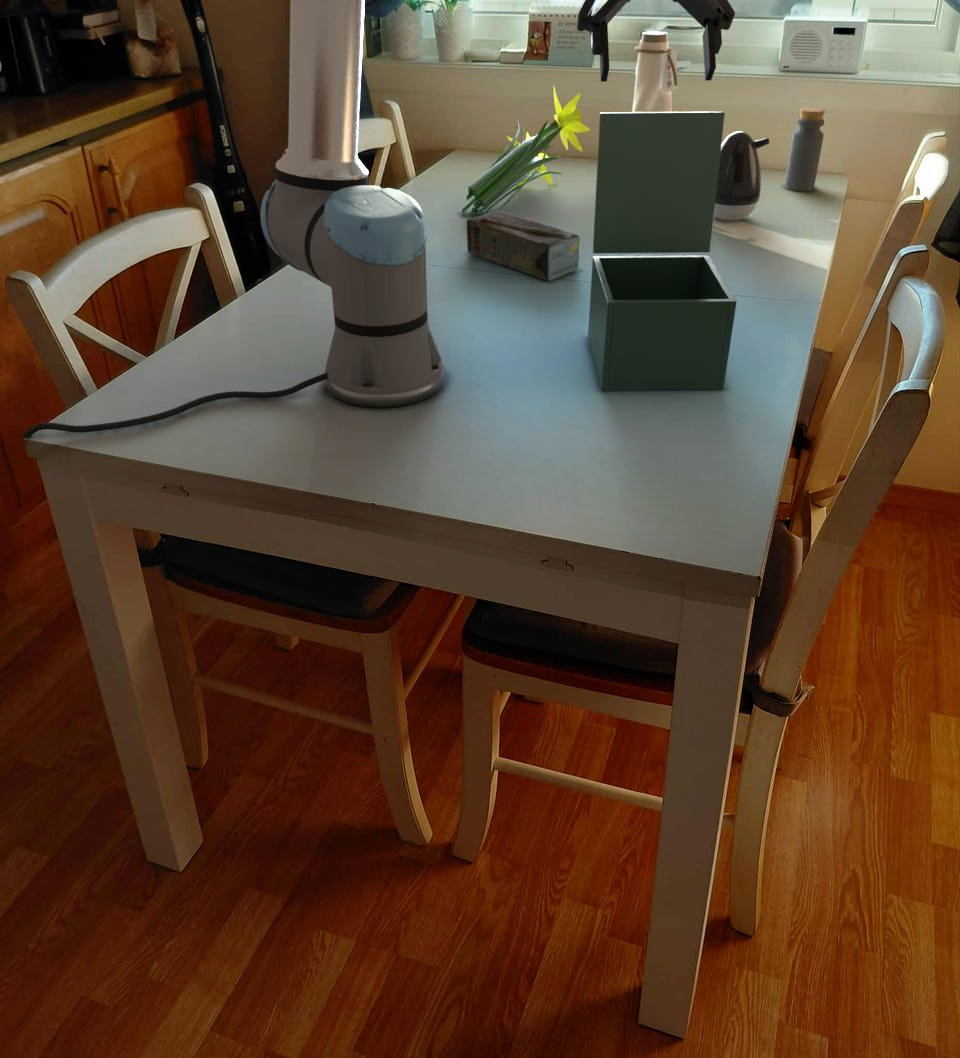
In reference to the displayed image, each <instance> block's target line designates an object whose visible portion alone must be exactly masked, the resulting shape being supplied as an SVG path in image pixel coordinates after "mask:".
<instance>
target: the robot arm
mask: <svg viewBox="0 0 960 1058" xmlns="http://www.w3.org/2000/svg"><path fill="white" fill-rule="evenodd" d="M631 1H632V0H606V2H605V3H604V4H603V5H602V6H601V7H600V8H599V9H598V10H597V12H596V13H595V11H596V9H597V7H598V5H599V3H600V2H601V0H584V2H583V3H582V6H581V7H580V9H579V10H578V14H577V19H576V30H577V31H579V32H584V31H587V32H588V33H589V38H590V44H591V45H590V46H591V50H590V51H591V54H592V56H599V69H600V82H601V83H603V82H607V81H608V77H609V73H610V49H609V23H610V22H611V21H612V20H613V18H614V17H616V15H617V14H618V13H619V12H620V11H621V10H622V9H623V7H624V6H626V4H629V3H630V2H631ZM671 1H672V2H673V3H678V4H679V5H680V6H681V7H682V8H683V9H684V10H685V11H686V12H687V13H688V14H689V15H690V16H691V17H692V18H693V19H694V20H695V21H696V22H697V23H698V24H699V25H700V26H701V27H702V28H703V34H702V49H703V50H702V51H703V64H704V66H703V67H704V80H705V81H712V79H713V76H714V73H715V72H716V69H717V61H716V59H717V58H716V55H719V53H720V50H721V47H722V45H723V38H722V35H723V34H722V30H724V31H728V30H729V29H730V28H731V26H732V24H733V21H734V18H735V15H736V12H735V10H734V8H733V7H732V5H731V3H730V2H729V0H671ZM289 2H290V3H289V5H290V6H289V67H288V69H289V70H288V71H289V72H288V73H289V75H288V141H287V142H288V143H287V144H288V145H287V150H286V152H285V154H283V156H282V157H280V158H279V159H278V160H277V161H276V162H275V179H274V180H273V182H272V183H271V186H270V187H269V189H268V190H266V191H265V193H264V195H263V198H262V201H261V205H260V225H261V229H262V233H263V236H264V238H265V240H266V242H267V244H268V245H269V247H270V248H271V249H272V251H273V252H274V254H276V255H277V256H278V257H280V258H281V259H282V260H283V261H284V262H285V263H286V264H287V265H288V266H290V267H291V268H293V269H295V270H297V271H300V272H304V273H305V274H307V275H309V276H310V277H312V278H314V279H315V280H317V281H319V282H321V283H323V284H324V285H326V286H328V287H330V289H331V298H332V306H333V307H332V308H333V319H334V331H333V334H332V340H331V344H330V348H329V351H328V356H327V359H326V364H325V369H324V372H323V373H321V374H319V375H316V376H314V377H311V378H309V379H306V380H304V381H301V382H299V383H297V384H295V385H293V386H290V387H289V388H285V389H279V390H274V391H273V390H272V391H247V390H233V391H223V392H217V393H213V394H208V395H204V396H201V397H198V398H195V399H193V400H191V401H188V402H185V403H183V404H181V405H179V406H176V407H173V408H171V409H168V410H165V411H162V412H159V413H155V414H150V415H147V416H146V415H145V416H141V417H137V418H131V419H126V420H121V421H114V422H106V423H97V424H88V425H72V424H65V423H57V422H40V423H37V424H35V425H32V426H30V427H29V428H28V429H26V431H24V432H23V434H22V435H21V439H23V440H24V439H29V438H32V436H33V435H34V434H35V433H37V432H40V431H45V430H53V431H59V432H67V433H76V434H77V433H80V434H81V433H93V432H102V431H110V430H118V429H124V428H131V427H136V426H141V425H145V424H149V423H153V422H158V421H161V420H165V419H168V418H171V417H174V416H176V415H179V414H181V413H183V412H186V411H188V410H191V409H193V408H195V407H196V408H197V407H198V406H202V405H203V404H207V403H211V402H214V401H218V400H224V399H236V398H237V399H238V398H239V399H241V398H245V399H274V398H281V397H287V396H290V395H292V394H296V393H298V392H300V391H301V390H303V389H306V388H308V387H310V386H313V385H315V384H318V383H320V382H323V381H325V386H326V388H327V390H328V392H329V393H330V394H331V395H332V396H334V398H337V399H338V400H340V401H343V402H345V403H347V404H348V403H349V404H352V405H355V406H360V407H367V408H368V407H369V408H391V407H393V408H394V407H401V406H406V405H410V404H414V403H417V402H420V401H423V400H425V399H428V398H429V397H431V396H432V395H434V394H436V393H437V392H438V391H440V389H441V388H442V386H443V385H444V382H445V366H444V361H443V358H442V356H441V354H440V351H439V349H438V346H437V343H436V341H435V338H434V335H433V333H432V330H431V327H430V323H429V316H428V315H429V313H428V285H427V283H428V282H427V252H426V251H427V250H426V245H427V241H428V240H427V239H428V237H427V232H426V227H425V219H424V214H423V210H422V208H421V206H420V205H419V203H418V202H417V201H416V199H414V198H413V197H411V196H410V195H409V194H406V193H405V192H402V191H400V190H398V189H395V188H391V187H386V188H385V187H384V188H383V187H381V186H379V185H371V184H369V173H370V172H369V170H368V169H367V167H366V166H365V165H364V164H363V163H362V161H361V160H360V159H359V155H358V152H359V133H360V132H359V130H360V129H359V128H360V111H361V110H360V109H361V108H360V107H361V87H362V65H363V64H362V63H363V62H362V61H363V44H364V43H363V41H364V22H365V21H364V20H365V3H366V1H365V0H290V1H289ZM594 13H595V14H594Z"/></svg>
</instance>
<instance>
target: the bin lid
mask: <svg viewBox="0 0 960 1058" xmlns="http://www.w3.org/2000/svg"><path fill="white" fill-rule="evenodd" d="M725 115H726V112H725V111H672V112H632V111H629V112H628V111H627V112H625V111H624V112H623V111H622V112H621V111H620V112H617V111H613V112H612V111H611V112H608V111H607V112H599V121H598V124H599V125H598V143H597V145H598V146H597V161H596V162H597V163H596V178H595V179H596V181H595V198H594V199H595V200H594V201H595V203H594V205H595V206H594V222H593V239H592V240H593V241H592V242H593V243H592V253H593V254H681V253H682V254H686V253H687V254H689V253H690V254H691V253H695V254H696V253H697V254H699V253H701V254H703V253H710V252H711V243H712V233H713V225H714V207H715V198H716V189H717V180H718V171H719V161H720V152H721V145H722V143H723V132H724V125H725V124H724V123H725Z"/></svg>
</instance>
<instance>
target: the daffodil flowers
mask: <svg viewBox="0 0 960 1058" xmlns="http://www.w3.org/2000/svg"><path fill="white" fill-rule="evenodd" d="M552 88H553V101H554V108H555V114H554V115H553V118H554V120H553V121H552V122H551V123H550V124H548V119H547V120H546V121H545V122H544V124H543V125H542V127H541V128H540V130H539V132H538V133H537V134H536V135H535V136H530V133H529V132H528V131H527V132H526V133H525V131H524V127H522V128H521V129H522V130H521V132H522V133H521V142H519V140H518V138H519V135H520V123H519V120H518V119H517V120H516V126H517V127H516V133H515V135H514V137H511V136H509V135H506V139H507V141H509V142H510V143H509V144H508V145H507V147H506V148H504V150H503V151H502V153H501V154H500V155H499V156H498V158H497V159H496V160H495V161H494V162H493V163H492V164H491V165H490V166H489V168H488V169H487V170H485V172H484V173H482V174H481V175H480V176H479V177H477V179H475V180H474V181H473V182H471V184H469V185H468V186H467V187H468V189H467V192H468V194H467V195H466V199H465V200H466V201H468V200H470V199H471V198H472V197H473V199H471V200H470V201H469V202H468V203H467V204H466V205H465V206H464V207H463V208H462V209H461V214H464V213H465V212H466V211H468V210H469V209H470V207H471V206H472V205H473V206H472V207H471V212H470V213H472V214H475V215H476V214H478V213H479V216H480V215H482V214H487V212H489V211H490V210H491V209H492V208H493V207H495V206H496V205H498V203H499V202H501V201H502V200H504V199H505V198H507V197H508V196H509V195H511V196H510V197H508V199H507V200H506V201H505V202H504V203H503V204H502V205H501V206H500V207H499V208H498V209H497V210H500V211H502V210H503V208H505V207H506V205H508V204H509V203H510V202H511V201H512V199H513V198H514V197H515V196H516V195H517V194H518V193H519V192H520V191H521V189H522V188H523V187H524V186H525V185H527V184H528V183H531V182H532V181H534V180H536V179H538V178H540V177H541V178H542V179H543V180H545V182H547V183H548V184H549V185H551V186H554V183H553V179H552V175H563V173H562V172H559V171H556V170H548V169H547V167H546V166H545V165H544V164H546V163H549V162H552V161H554V160H557V159H560V158H561V156H548V155H547V153H548V152H547V151H548V150H547V149H550V148H554V147H555V145H550V144H551V143H552V142H553V140H554V139H555V138H556V137H557V136H558V135H559V137H560V141H561V143H562V144H563V146H564V148H565V149H566V150H567V151H568V150H569V142H570V144H571V145H572V146H573V147H574V148H575V149H577V150H578V151H579V152H581V153H584V151H583V148H582V145H581V144H580V141H579V139H578V138H577V136H576V133H577V134H579V133H580V134H581V133H587V132H590V131H591V128H590V127H588V126H586V124H585V125H584V124H583V123H581V122H582V120H583V115H582V113H581V110H579V108H578V107H577V104H578V102H579V100H580V97H581V93H580V92H579V93H578V94H576V95H575V96H574V97H573V98H572V99H571V100H569V101H568V103H566V105H564V107H563V108H562V105H561V103H560V101H559V98H558V95H557V92H556V87H555V85H554V84H552ZM547 124H548V125H547ZM568 141H569V142H568ZM513 147H514V149H513V150H511V149H512V148H513ZM533 171H534V172H533ZM512 193H513V194H512Z"/></svg>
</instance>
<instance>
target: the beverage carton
mask: <svg viewBox="0 0 960 1058" xmlns="http://www.w3.org/2000/svg"><path fill="white" fill-rule="evenodd" d="M580 240H581V238H580V235H578V234H576V233H572V232H570V231H566V230H563V229H561V228H558V227H555V226H551V225H549V224H545V223H542V222H539V221H536V220H532V219H530V218H526V217H523V216H519V215H516V214H514V213H511V212H507V211H505V210H498V209H495V210H493V211H490V212H488V213H487V212H486V213H485V214H482V215H480V214H479V215H478V216H475V217H471V218H468V219H467V220H466V242H467V244H466V245H467V254H469V255H472V256H476V257H479V258H482V259H484V260H487V261H490V262H493V263H496V264H498V265H501V266H504V267H507V268H510V269H513V270H516V271H518V272H522V273H524V274H527V275H530V276H533V277H535V278H539V279H541V280H544V281H547V282H550V281H554V280H555V279H558V278H560V277H563V276H565V275H568V274H570V273H572V272H575V271H577V270H578V269H579V261H580V242H581V241H580Z"/></svg>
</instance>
